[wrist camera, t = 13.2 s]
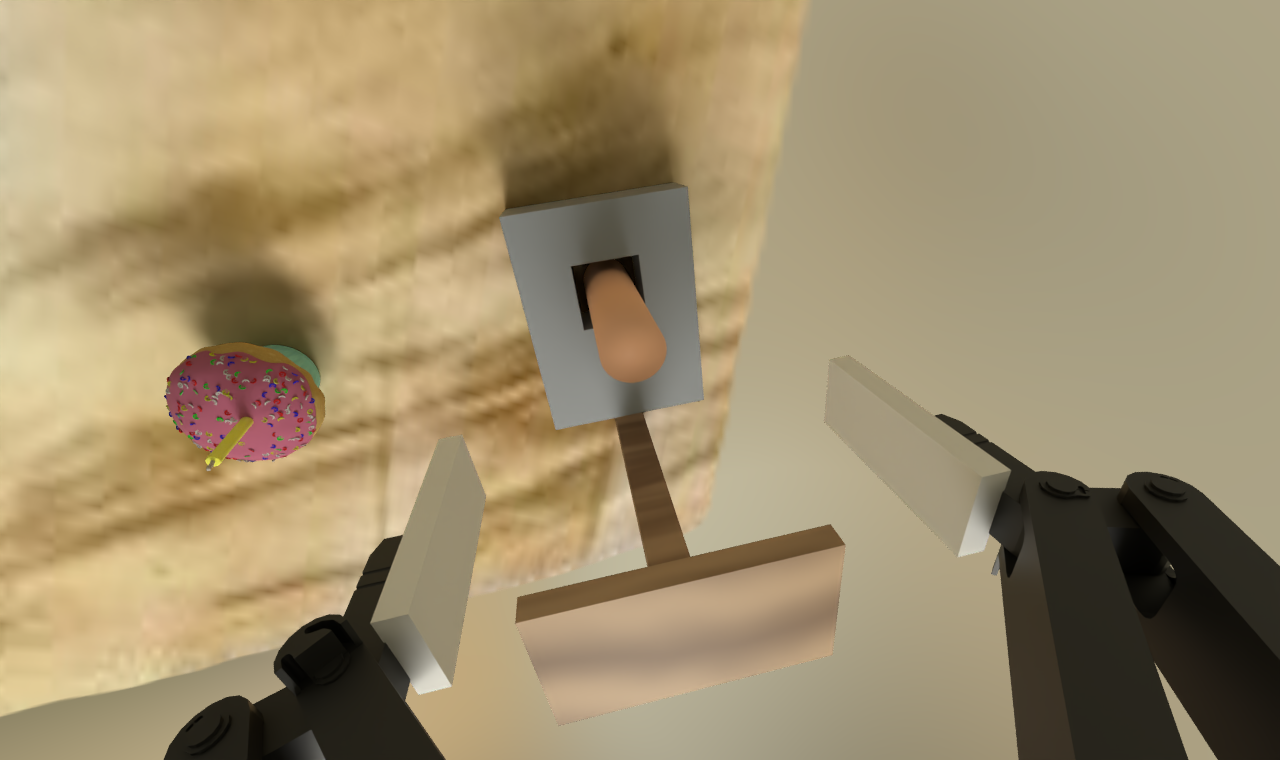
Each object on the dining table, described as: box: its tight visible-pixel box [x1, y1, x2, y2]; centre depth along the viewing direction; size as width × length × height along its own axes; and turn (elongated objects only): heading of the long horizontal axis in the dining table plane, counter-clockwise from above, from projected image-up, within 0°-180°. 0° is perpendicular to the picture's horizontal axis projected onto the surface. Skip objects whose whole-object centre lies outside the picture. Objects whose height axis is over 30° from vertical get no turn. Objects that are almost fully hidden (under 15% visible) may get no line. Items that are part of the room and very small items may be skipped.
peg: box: [584, 259, 667, 383], centre depth 29 cm, size 3×3×14 cm
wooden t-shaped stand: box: [515, 412, 845, 726], centre depth 30 cm, size 8×14×22 cm, turn 98°
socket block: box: [499, 182, 704, 430], centre depth 34 cm, size 16×12×4 cm
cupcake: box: [164, 342, 325, 471], centre depth 29 cm, size 9×8×12 cm
